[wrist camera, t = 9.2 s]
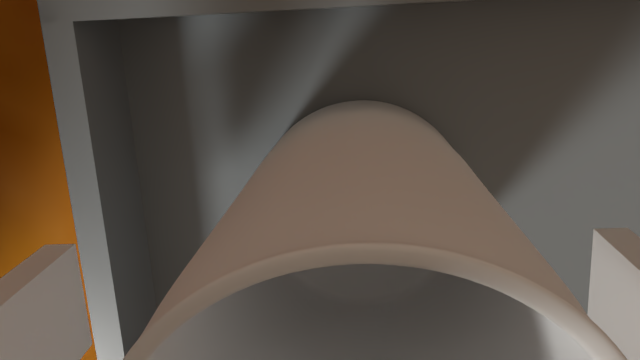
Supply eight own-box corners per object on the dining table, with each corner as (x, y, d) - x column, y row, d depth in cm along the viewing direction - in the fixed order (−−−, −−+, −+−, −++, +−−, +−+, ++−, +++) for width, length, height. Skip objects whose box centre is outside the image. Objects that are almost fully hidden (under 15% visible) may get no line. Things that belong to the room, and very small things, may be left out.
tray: (156, 417, 22) (119, 491, 18) (94, -8, 18) (35, -12, 15) (848, 410, 20) (947, 490, 17) (945, -56, 16) (1099, -74, 13)
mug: (360, 40, 17) (365, 105, 6) (521, 196, 18) (803, 523, 7) (143, 272, 20) (-161, 649, 8) (296, 400, 21) (218, 897, 9)
